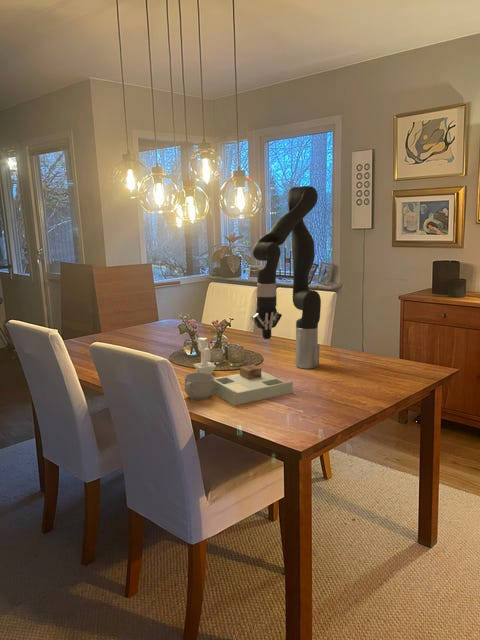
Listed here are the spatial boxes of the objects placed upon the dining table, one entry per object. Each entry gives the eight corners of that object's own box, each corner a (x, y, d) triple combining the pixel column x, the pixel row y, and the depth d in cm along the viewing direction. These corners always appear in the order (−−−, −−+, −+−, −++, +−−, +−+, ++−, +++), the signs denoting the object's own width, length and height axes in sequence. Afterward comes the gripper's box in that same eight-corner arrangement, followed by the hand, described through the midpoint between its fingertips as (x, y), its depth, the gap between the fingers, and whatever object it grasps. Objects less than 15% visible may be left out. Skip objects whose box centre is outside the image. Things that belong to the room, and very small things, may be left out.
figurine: (200, 377, 217) (199, 341, 214) (192, 371, 225) (191, 336, 222) (217, 375, 220) (216, 339, 217) (208, 369, 228) (207, 335, 225)
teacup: (199, 390, 201) (198, 369, 200) (221, 396, 194) (220, 375, 193) (172, 400, 191) (171, 379, 189) (194, 407, 184) (193, 384, 182)
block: (253, 373, 212) (253, 364, 211) (261, 377, 207) (261, 368, 206) (240, 375, 209) (240, 366, 208) (248, 379, 204) (247, 370, 203)
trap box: (259, 376, 217) (258, 364, 216) (293, 393, 197) (293, 379, 196) (204, 387, 205) (203, 374, 204) (234, 405, 185) (234, 391, 184)
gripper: (275, 292, 212) (275, 334, 215) (246, 295, 205) (247, 339, 208) (286, 294, 205) (286, 338, 209) (257, 297, 199) (257, 342, 202)
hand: (266, 338), depth 209 cm, fingers closed
